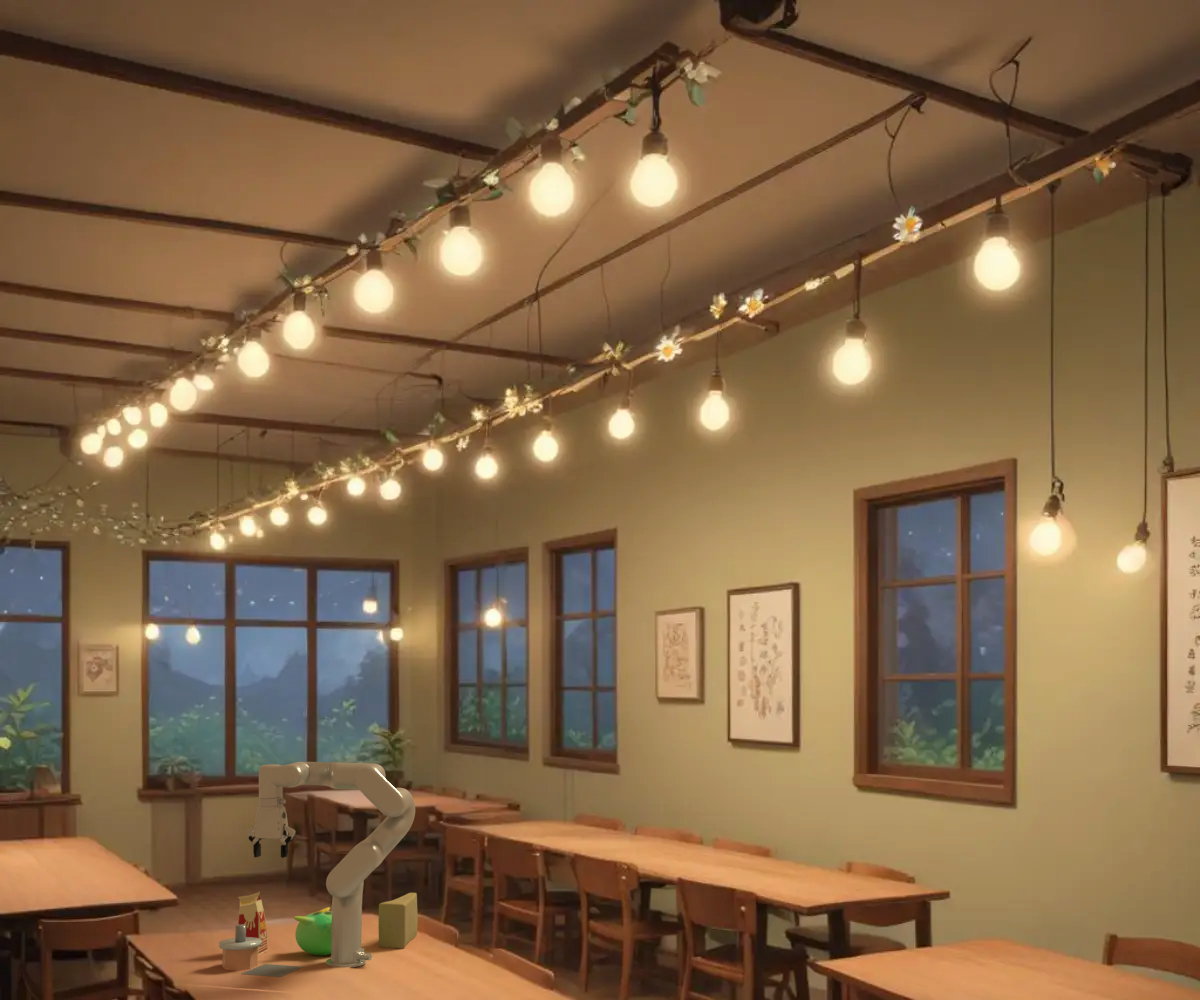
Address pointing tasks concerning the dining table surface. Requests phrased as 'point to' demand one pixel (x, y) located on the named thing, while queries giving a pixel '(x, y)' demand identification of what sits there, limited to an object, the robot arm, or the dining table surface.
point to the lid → (240, 940)
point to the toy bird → (315, 932)
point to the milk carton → (254, 919)
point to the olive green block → (398, 921)
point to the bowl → (239, 959)
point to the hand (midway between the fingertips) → (270, 856)
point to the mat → (272, 970)
